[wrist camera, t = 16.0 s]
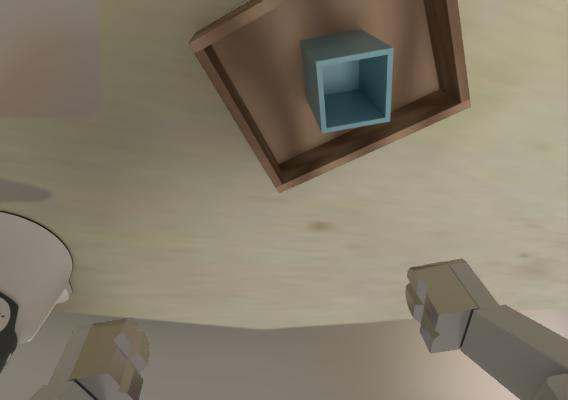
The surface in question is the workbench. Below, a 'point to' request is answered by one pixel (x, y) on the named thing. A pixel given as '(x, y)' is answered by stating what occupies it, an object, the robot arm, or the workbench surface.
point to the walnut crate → (291, 85)
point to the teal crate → (348, 79)
